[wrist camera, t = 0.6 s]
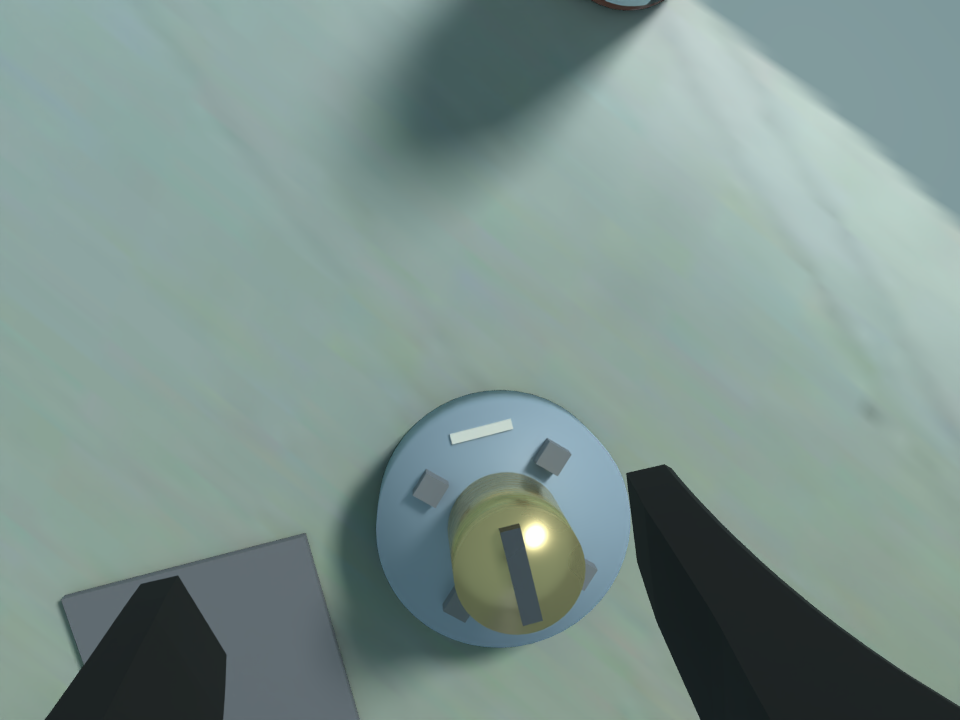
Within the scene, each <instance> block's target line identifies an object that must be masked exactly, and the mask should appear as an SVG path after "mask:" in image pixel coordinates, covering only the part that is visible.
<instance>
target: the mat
mask: <svg viewBox="0 0 960 720" xmlns="http://www.w3.org/2000/svg"><path fill="white" fill-rule="evenodd" d="M177 575H178V576H179V578H180V579H181V581H182V582H183V584H184V586H185V587H186V589H187V591H188V592H189V594H190V595H191V597H192V599H193V600H194V602H195V604H196V605H197V607H198V609H199V610H200V612H201V613H202V615H203V617H204V618H205V620H206V622H207V623H208V625H209V627H210V628H211V630H212V631H213V633H214V635H215V636H216V638H217V640H218V641H219V643H220V645H221V646H222V648H223V649H224V651H225V653H226V654H227V659H226V685H225V702H224V716H223V720H360V719H359V715H358V712H357V708H356V705H355V702H354V698H353V695H352V691H351V688H350V684H349V681H348V677H347V674H346V671H345V667H344V664H343V660H342V657H341V653H340V650H339V646H338V643H337V639H336V636H335V633H334V629H333V626H332V622H331V619H330V615H329V612H328V608H327V605H326V602H325V598H324V595H323V591H322V588H321V584H320V581H319V577H318V574H317V571H316V567H315V564H314V560H313V557H312V553H311V550H310V546H309V543H308V539H307V536H306V533H303V534H300V535H296V536H292V537H288V538H284V539H280V540H276V541H273V542H269V543H265V544H261V545H257V546H253V547H249V548H245V549H242V550H238V551H234V552H230V553H226V554H222V555H218V556H215V557H211V558H207V559H203V560H199V561H195V562H191V563H188V564H184V565H180V566H176V567H172V568H168V569H164V570H161V571H157V572H153V573H149V574H145V575H141V576H137V577H133V578H130V579H126V580H122V581H118V582H114V583H110V584H106V585H103V586H99V587H95V588H91V589H87V590H83V591H79V592H76V593H72V594H68V595H65V596H64V597H63V598H62V599H61V601H62V604H63V607H64V610H65V613H66V615H67V618H68V621H69V624H70V627H71V630H72V632H73V635H74V638H75V641H76V644H77V647H78V650H79V652H80V655H81V658H82V661H83V664H85V663H86V661H87V660H88V659H89V657H90V656H91V654H92V653H93V651H94V650H95V648H96V647H97V646H98V644H99V643H100V641H101V640H102V638H103V637H104V635H105V634H106V632H107V631H108V630H109V628H110V627H111V625H112V624H113V622H114V621H115V619H116V618H117V616H118V615H119V614H120V612H121V611H122V609H123V608H124V606H125V605H126V604H127V602H128V601H129V599H130V598H131V596H132V595H133V594H134V592H135V591H136V590H137V588H138V587H139V586H140V584H142V583H147V582H151V581H155V580H160V579H164V578H168V577H173V576H177Z"/></svg>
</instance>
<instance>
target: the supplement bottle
mask: <svg viewBox="0 0 960 720" xmlns="http://www.w3.org/2000/svg"><path fill="white" fill-rule="evenodd" d="M592 1H594V2H595V3H597V4H599V5H603V6H606V7H608V8H612V9H618V10H638V9H644V8H649V7H651V6H653V5H656V4H658V3H660V2H662V1H664V0H592Z"/></svg>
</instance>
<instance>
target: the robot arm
mask: <svg viewBox="0 0 960 720" xmlns="http://www.w3.org/2000/svg"><path fill="white" fill-rule="evenodd" d="M626 475H627V483H628V492H629V500H630V508H631V516H632V524H633V532H634V540H635V548H636V556H637V563H638V566H639V569H640V572H641V575H642V578H643V582H644V585H645V588H646V591H647V594H648V597H649V600H650V603H651V606H652V609H653V612H654V615H655V618H656V621H657V624H658V626H659V628H660V630H661V633H662V635H663V637H664V639H665V642H666V644H667V646H668V648H669V651H670V653H671V655H672V657H673V660H674V662H675V664H676V666H677V669H678V671H679V673H680V675H681V677H682V680H683V682H684V684H685V686H686V689H687V691H688V693H689V695H690V697H691V700H692V702H693V704H694V706H695V709H696V711H697V713H698V715H699V717H700V720H960V706H958V705H956V704H955V703H953V702H952V701H950V700H948V699H947V698H945V697H944V696H942V695H940V694H939V693H937V692H935V691H934V690H932V689H931V688H929V687H927V686H926V685H924V684H922V683H921V682H919V681H918V680H916V679H914V678H913V677H911V676H910V675H908V674H906V673H905V672H903V671H902V670H900V669H899V668H898V667H896V666H895V665H893V664H892V663H890V662H889V661H887V660H886V659H884V658H883V657H882V656H880V655H879V654H877V653H876V652H874V651H873V650H871V649H870V648H868V647H867V646H866V645H864V644H863V643H862V642H860V641H859V640H857V639H856V638H855V637H853V636H852V635H851V634H849V633H848V632H847V631H845V630H844V629H842V628H841V627H840V626H838V625H837V624H836V623H834V622H833V621H832V620H831V619H829V618H828V617H827V616H825V615H824V614H823V613H822V612H820V611H819V610H818V609H817V608H815V607H814V606H813V605H812V604H810V603H809V602H808V601H807V600H805V599H804V598H803V597H802V596H801V595H799V594H798V593H797V592H796V591H795V590H794V589H792V588H791V587H790V586H789V585H788V584H786V583H785V582H784V581H783V580H782V579H780V578H779V577H778V576H777V575H776V574H775V573H774V572H773V571H771V570H770V569H769V568H768V567H767V566H766V565H765V564H763V563H762V562H761V561H760V560H759V559H758V558H757V557H756V556H755V555H754V554H753V553H752V552H751V551H750V550H749V549H747V548H746V547H745V546H744V545H743V544H742V543H741V542H740V541H739V540H738V539H737V538H736V537H735V536H734V535H733V534H732V533H731V532H730V531H729V530H728V529H727V528H725V527H724V526H723V525H722V524H721V523H720V521H719V520H718V519H717V518H716V517H715V516H714V515H713V514H712V513H711V512H710V511H709V510H708V509H707V508H706V507H705V506H704V505H703V504H702V503H701V502H700V501H699V499H698V498H697V497H696V496H695V495H694V494H693V493H692V492H691V491H690V490H689V488H688V487H687V486H686V485H685V484H684V483H683V482H682V480H681V479H680V478H679V477H678V476H677V474H676V473H675V472H674V471H673V470H672V468H670V467H668V466H666V465H665V464H664V465H660V466H655V467H651V468H647V469H642V470H638V471H634V472H629V473H626ZM226 659H227V654H226V653H225V651H224V649H223V648H222V646H221V645H220V643H219V641H218V640H217V638H216V636H215V635H214V633H213V631H212V630H211V628H210V627H209V625H208V623H207V622H206V620H205V618H204V617H203V615H202V613H201V612H200V610H199V609H198V607H197V605H196V604H195V602H194V600H193V599H192V597H191V595H190V594H189V592H188V591H187V589H186V587H185V586H184V584H183V582H182V581H181V579H180V578H179V576H178V575H177V576H173V577H168V578H164V579H160V580H155V581H151V582H147V583H142V584H140V586H139V587H138V588H137V590H136V591H135V592H134V594H133V595H132V596H131V598H130V599H129V601H128V602H127V604H126V605H125V606H124V608H123V609H122V611H121V612H120V614H119V615H118V616H117V618H116V619H115V621H114V622H113V624H112V625H111V627H110V628H109V630H108V631H107V632H106V634H105V635H104V637H103V638H102V640H101V641H100V643H99V644H98V646H97V647H96V648H95V650H94V651H93V653H92V654H91V656H90V657H89V659H88V660H87V661H86V663H85V664H84V666H83V667H82V668H81V670H80V671H79V673H78V674H77V675H76V677H75V678H74V680H73V681H72V683H71V684H70V685H69V687H68V688H67V690H66V691H65V692H64V694H63V695H62V697H61V698H60V699H59V701H58V702H57V704H56V705H55V706H54V708H53V709H52V711H51V712H50V713H49V715H48V716H47V717H46V719H45V720H223V716H224V702H225V685H226Z"/></svg>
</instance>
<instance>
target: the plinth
mask: <svg viewBox="0 0 960 720" xmlns="http://www.w3.org/2000/svg"><path fill="white" fill-rule="evenodd" d="M500 472H514V473H519V474H523V475H526V476H529V477H531V478H533V479H535V480H537V481H538V482H540V483H541V484H542V485H544V486H545V487H546V488H547V489H548V490H549V491H550V493H551V494H552V495H553V497H554V498H555V500H556V502H557V503H558V505H559V507H560V509H561V511H562V512H563V514H564V516H565V518H566V519H567V521H568V523H569V525H570V526H571V528H572V530H573V532H574V533H575V535H576V537H577V539H578V540H579V543H580V545H581V547H582V550H583V553H584V558H585V568H586V572H585V580H584V584H583V588H582V590H581V593H580V595H579V597H578V599H577V601H576V603H575V604H574V605H573V607H572V608H571V610H570V611H569V612H568V613H567V614H566V615H565V616H564V617H563V618H561V619H560V620H559V621H558V622H556V623H554V624H553V625H551V626H549V627H547V628H545V629H543V630H540V631H537V632H534V633H529V634H522V635H511V634H504V633H499V632H496V631H493V630H491V629H488V628H486V627H484V626H483V625H481V624H480V623H478V622H477V621H476V620H474V619H473V618H472V617H471V616H470V615H469V614H468V613H467V611H466V610H465V609H464V607H463V606H462V604H461V602H460V600H459V598H458V596H457V593H456V590H455V584H454V578H453V571H452V563H451V556H450V548H449V541H448V529H447V528H448V519H449V515H450V512H451V509H452V507H453V505H454V503H455V501H456V499H457V498H458V497H459V495H460V494H461V493H462V492H463V491H464V490H465V489H466V488H467V487H468V486H469V485H470V484H472V483H473V482H475V481H476V480H478V479H480V478H482V477H484V476H487V475H490V474H494V473H500ZM629 534H630V507H629V500H628V494H627V491H626V487H625V484H624V480H623V478H622V476H621V474H620V471H619V469H618V467H617V465H616V463H615V462H614V460H613V459H612V457H611V455H610V454H609V452H608V451H607V450H606V449H605V447H604V446H603V445H602V444H601V443H600V441H599V440H598V439H597V438H596V437H595V436H594V435H593V434H592V433H591V432H590V431H589V430H588V429H587V428H586V427H585V426H584V425H583V424H582V423H581V422H580V421H579V420H578V419H577V418H576V417H575V416H574V415H572V414H571V413H569V412H568V411H566V410H565V409H564V408H562V407H561V406H559V405H557V404H555V403H553V402H551V401H549V400H547V399H544V398H541V397H538V396H536V395H533V394H528V393H523V392H518V391H507V390H494V391H483V392H477V393H472V394H468V395H465V396H462V397H459V398H456V399H453V400H451V401H449V402H447V403H445V404H443V405H441V406H439V407H437V408H436V409H434V410H433V411H431V412H430V413H428V414H427V415H425V416H424V417H423V418H422V419H421V420H420V421H418V422H417V423H416V424H415V425H414V426H413V427H412V428H411V429H410V430H409V431H408V432H407V434H406V435H405V436H404V437H403V438H402V440H401V441H400V443H399V444H398V446H397V447H396V448H395V450H394V452H393V454H392V456H391V458H390V460H389V462H388V464H387V467H386V470H385V472H384V475H383V479H382V483H381V488H380V493H379V502H378V510H377V522H376V537H377V547H378V552H379V557H380V562H381V564H382V567H383V570H384V573H385V576H386V578H387V580H388V582H389V584H390V586H391V587H392V589H393V591H394V592H395V594H396V595H397V597H398V598H399V599H400V601H401V602H402V604H403V605H404V606H405V607H406V608H407V609H408V610H409V611H410V612H411V613H412V614H413V615H414V616H415V617H416V618H418V619H419V620H420V621H421V622H422V623H424V624H425V625H426V626H428V627H430V628H431V629H433V630H435V631H436V632H438V633H440V634H442V635H444V636H446V637H449V638H451V639H453V640H456V641H459V642H463V643H466V644H470V645H476V646H482V647H496V648H504V647H516V646H522V645H526V644H531V643H535V642H538V641H541V640H544V639H547V638H550V637H552V636H554V635H556V634H558V633H560V632H562V631H564V630H566V629H567V628H569V627H570V626H572V625H573V624H575V623H577V622H578V621H579V620H580V619H582V618H583V617H584V616H585V615H586V614H588V613H589V612H590V611H591V610H592V609H593V608H594V607H595V606H596V605H597V604H598V603H599V602H600V600H601V599H602V598H603V597H604V595H605V594H606V592H607V591H608V590H609V588H610V587H611V585H612V584H613V582H614V580H615V578H616V576H617V575H618V573H619V570H620V568H621V565H622V563H623V560H624V558H625V554H626V550H627V546H628V542H629Z"/></svg>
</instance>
